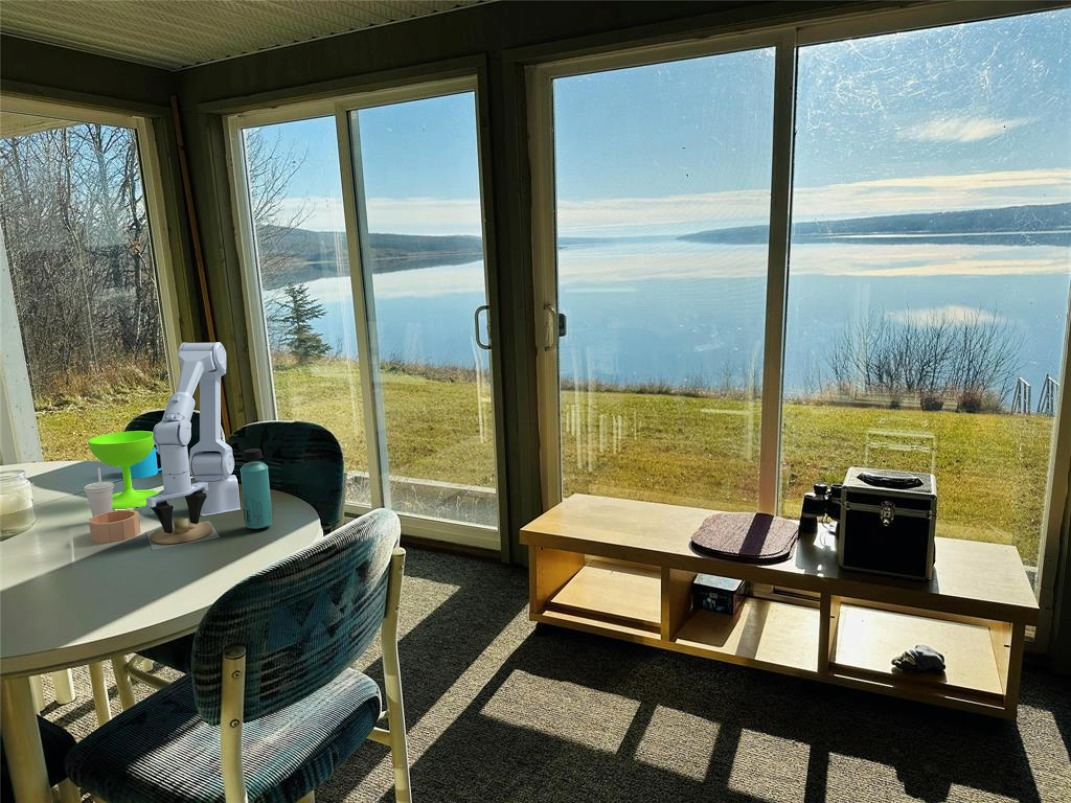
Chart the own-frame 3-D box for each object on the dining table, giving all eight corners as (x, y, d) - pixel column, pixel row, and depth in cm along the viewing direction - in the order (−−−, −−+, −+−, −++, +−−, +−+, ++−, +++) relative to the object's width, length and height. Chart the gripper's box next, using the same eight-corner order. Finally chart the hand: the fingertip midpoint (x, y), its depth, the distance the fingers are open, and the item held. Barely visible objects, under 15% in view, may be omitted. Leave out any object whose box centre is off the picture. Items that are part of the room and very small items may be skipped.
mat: (209, 522, 177) (209, 520, 177) (220, 539, 165) (219, 537, 165) (145, 534, 169) (145, 532, 169) (152, 552, 158) (152, 550, 157)
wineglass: (175, 493, 201) (168, 431, 198) (134, 512, 186) (126, 445, 182) (125, 491, 204) (118, 430, 201) (81, 509, 188) (72, 443, 185)
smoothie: (104, 527, 174) (97, 472, 172) (81, 525, 175) (75, 471, 173) (124, 518, 180) (117, 465, 178) (102, 517, 181) (96, 464, 179)
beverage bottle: (279, 526, 173) (273, 447, 169) (261, 536, 167) (254, 453, 163) (257, 524, 175) (251, 445, 172) (238, 533, 169) (231, 451, 165)
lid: (207, 521, 176) (206, 507, 175) (217, 537, 165) (215, 521, 165) (148, 532, 169) (146, 517, 168) (154, 549, 158) (152, 533, 157)
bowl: (138, 526, 174) (136, 507, 173) (142, 538, 166) (140, 518, 165) (90, 535, 169) (88, 515, 168) (92, 548, 161) (89, 527, 160)
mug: (128, 479, 216) (125, 453, 215) (128, 473, 223) (125, 448, 222) (172, 473, 222) (169, 448, 221) (170, 468, 229) (168, 443, 228)
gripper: (192, 462, 173) (197, 516, 175) (135, 477, 160) (141, 534, 162) (211, 465, 169) (217, 520, 172) (154, 481, 157) (161, 539, 159)
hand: (181, 527), depth 167 cm, fingers open, 6 cm apart
